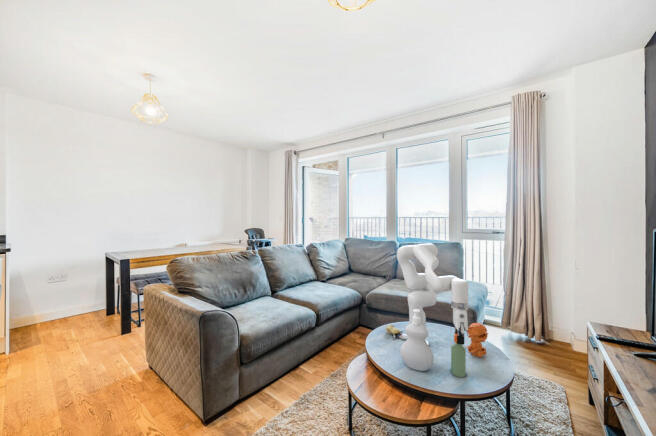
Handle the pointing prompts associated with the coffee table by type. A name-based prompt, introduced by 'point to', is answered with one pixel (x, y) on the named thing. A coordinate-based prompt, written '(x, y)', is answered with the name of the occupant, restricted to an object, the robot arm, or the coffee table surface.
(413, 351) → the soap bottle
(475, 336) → the orange sculpture
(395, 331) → the figurine
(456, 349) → the bottle
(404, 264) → the robot arm
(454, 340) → the cap
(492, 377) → the coffee table surface
